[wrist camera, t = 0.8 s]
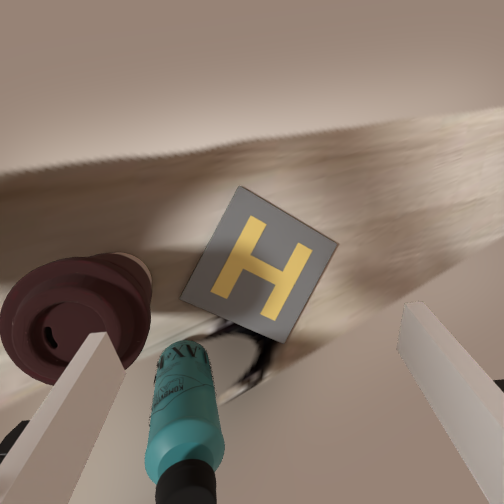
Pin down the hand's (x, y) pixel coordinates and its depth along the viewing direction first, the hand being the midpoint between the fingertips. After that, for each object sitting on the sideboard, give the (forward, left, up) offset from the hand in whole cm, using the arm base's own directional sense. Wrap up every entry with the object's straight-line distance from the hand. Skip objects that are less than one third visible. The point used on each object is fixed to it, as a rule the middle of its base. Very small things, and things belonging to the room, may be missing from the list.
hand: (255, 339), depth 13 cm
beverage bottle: (+4, -13, -24) cm, 28 cm away
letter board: (+8, +2, -24) cm, 25 cm away
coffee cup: (-7, -7, -24) cm, 26 cm away
